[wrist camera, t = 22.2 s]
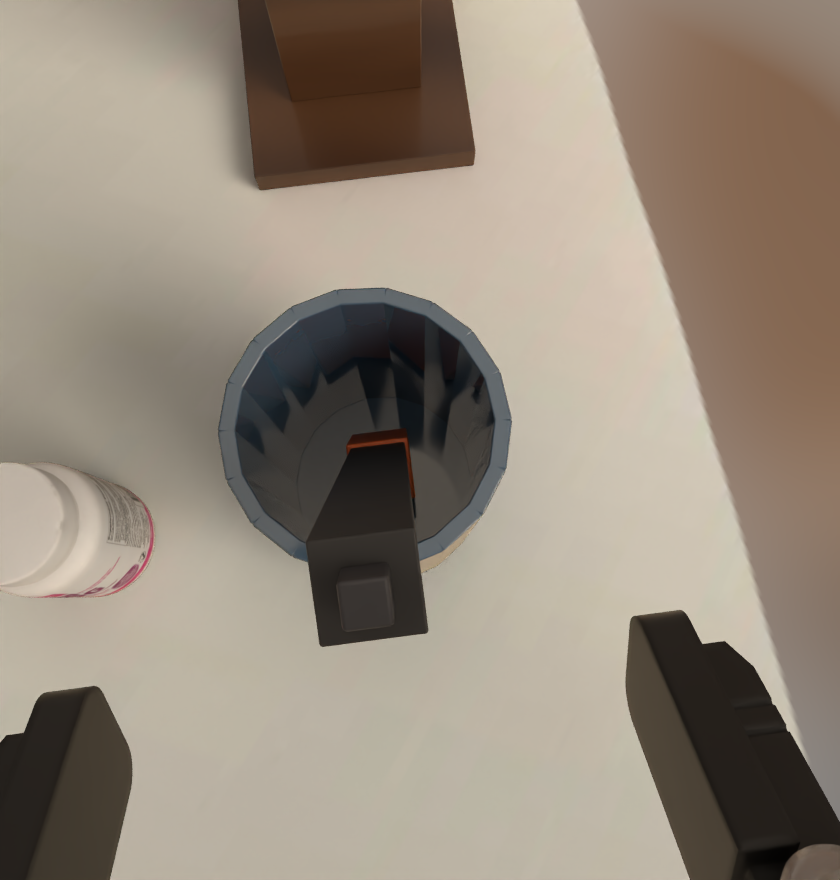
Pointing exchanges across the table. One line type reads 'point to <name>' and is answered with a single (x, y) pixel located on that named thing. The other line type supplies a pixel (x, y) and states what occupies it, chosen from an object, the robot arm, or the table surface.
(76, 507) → the pill bottle
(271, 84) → the pedestal
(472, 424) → the pen cup
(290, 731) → the table surface
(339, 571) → the marker
